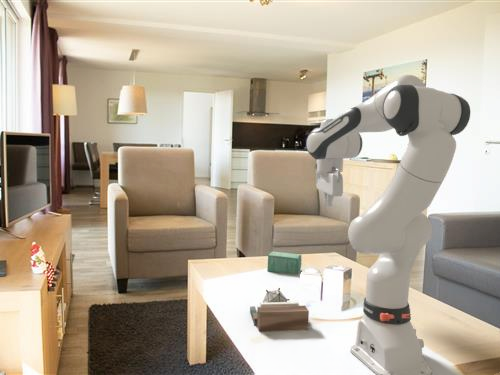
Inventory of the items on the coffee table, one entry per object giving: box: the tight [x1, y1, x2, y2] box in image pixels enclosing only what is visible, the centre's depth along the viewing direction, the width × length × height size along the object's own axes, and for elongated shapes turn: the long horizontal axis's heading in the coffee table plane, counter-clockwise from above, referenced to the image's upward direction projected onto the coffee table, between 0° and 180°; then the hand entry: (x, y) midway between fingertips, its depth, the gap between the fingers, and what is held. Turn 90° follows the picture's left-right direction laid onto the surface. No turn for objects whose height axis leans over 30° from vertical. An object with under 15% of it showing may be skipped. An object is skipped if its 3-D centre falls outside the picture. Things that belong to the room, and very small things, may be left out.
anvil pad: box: [259, 301, 300, 307], centre depth 146 cm, size 2×12×5 cm, turn 97°
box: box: [267, 251, 302, 275], centre depth 199 cm, size 7×14×8 cm, turn 73°
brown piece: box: [249, 305, 310, 333], centre depth 146 cm, size 15×17×6 cm
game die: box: [262, 287, 290, 303], centre depth 152 cm, size 9×8×10 cm
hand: (328, 205), depth 162 cm, fingers closed
